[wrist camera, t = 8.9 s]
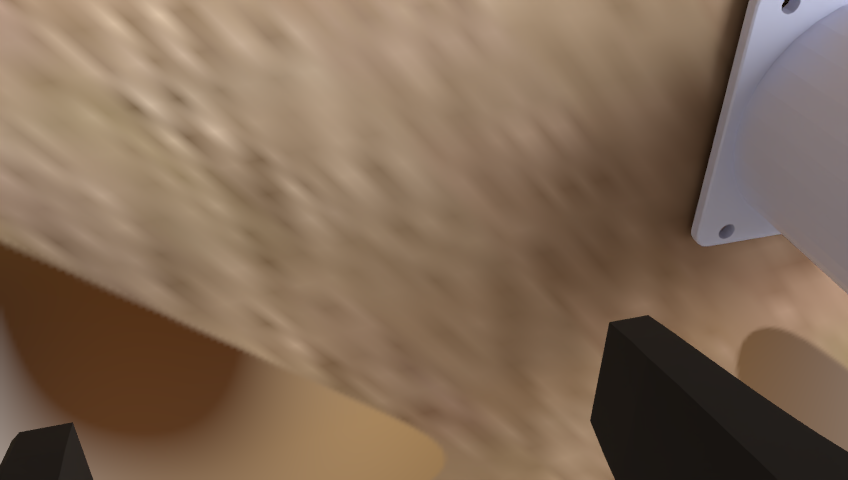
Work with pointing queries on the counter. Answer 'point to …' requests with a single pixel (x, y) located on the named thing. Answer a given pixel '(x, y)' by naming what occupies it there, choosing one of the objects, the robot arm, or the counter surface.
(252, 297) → the counter surface
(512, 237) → the counter surface
